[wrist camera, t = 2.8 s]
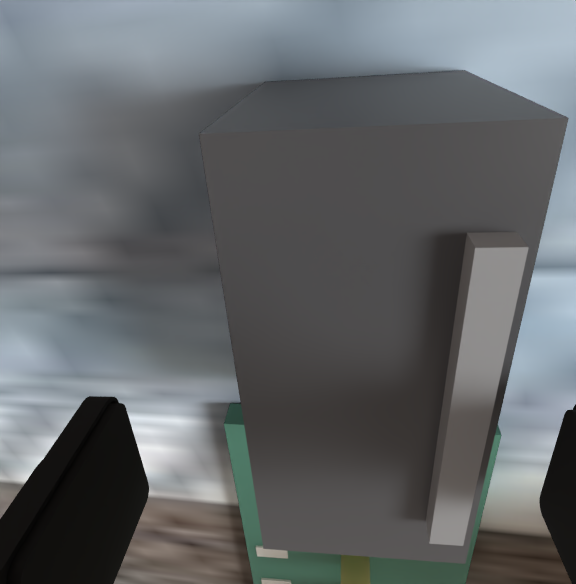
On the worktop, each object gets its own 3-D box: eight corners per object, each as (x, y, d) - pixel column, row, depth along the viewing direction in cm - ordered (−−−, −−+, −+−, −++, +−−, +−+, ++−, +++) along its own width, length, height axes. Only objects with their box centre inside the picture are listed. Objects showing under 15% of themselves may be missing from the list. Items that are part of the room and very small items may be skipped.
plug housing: (265, 81, 13) (187, 142, 7) (464, 70, 13) (586, 125, 6) (289, 384, 19) (260, 570, 13) (427, 388, 19) (470, 587, 12)
